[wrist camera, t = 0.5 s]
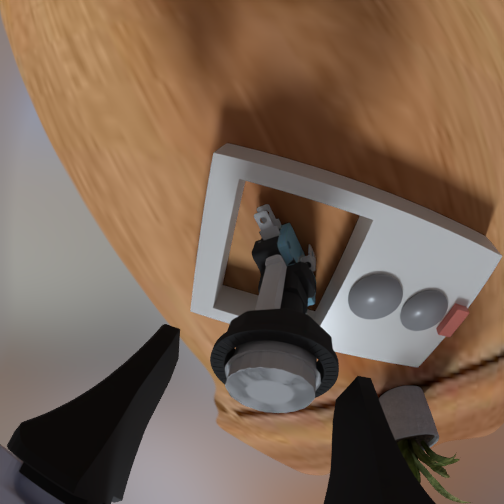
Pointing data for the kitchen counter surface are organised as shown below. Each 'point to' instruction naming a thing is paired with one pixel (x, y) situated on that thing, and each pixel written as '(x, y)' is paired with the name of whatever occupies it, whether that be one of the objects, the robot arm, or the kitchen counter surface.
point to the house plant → (415, 433)
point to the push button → (277, 330)
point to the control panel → (353, 260)
